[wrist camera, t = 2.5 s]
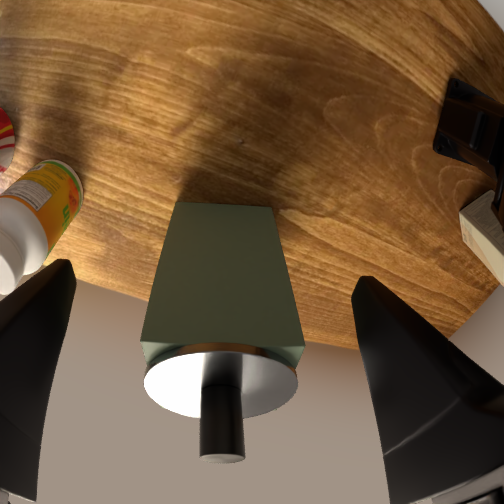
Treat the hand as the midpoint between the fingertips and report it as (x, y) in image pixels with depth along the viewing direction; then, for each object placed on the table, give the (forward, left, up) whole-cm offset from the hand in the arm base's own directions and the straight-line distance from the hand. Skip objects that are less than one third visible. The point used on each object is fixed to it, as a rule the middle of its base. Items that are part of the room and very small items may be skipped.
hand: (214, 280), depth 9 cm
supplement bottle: (+13, +4, -13) cm, 19 cm away
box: (-25, +3, -13) cm, 28 cm away
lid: (0, +8, -1) cm, 8 cm away
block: (0, +8, -13) cm, 15 cm away
